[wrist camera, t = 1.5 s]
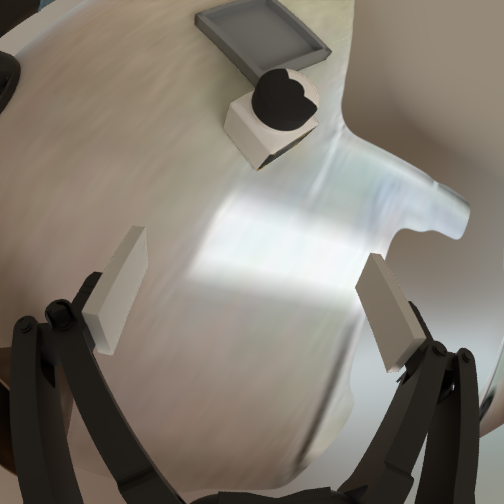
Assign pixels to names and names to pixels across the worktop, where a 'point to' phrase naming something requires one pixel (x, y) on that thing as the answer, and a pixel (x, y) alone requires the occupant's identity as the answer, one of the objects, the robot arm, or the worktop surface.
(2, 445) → the plant pot
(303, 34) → the tray
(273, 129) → the medicine bottle
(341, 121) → the worktop surface
